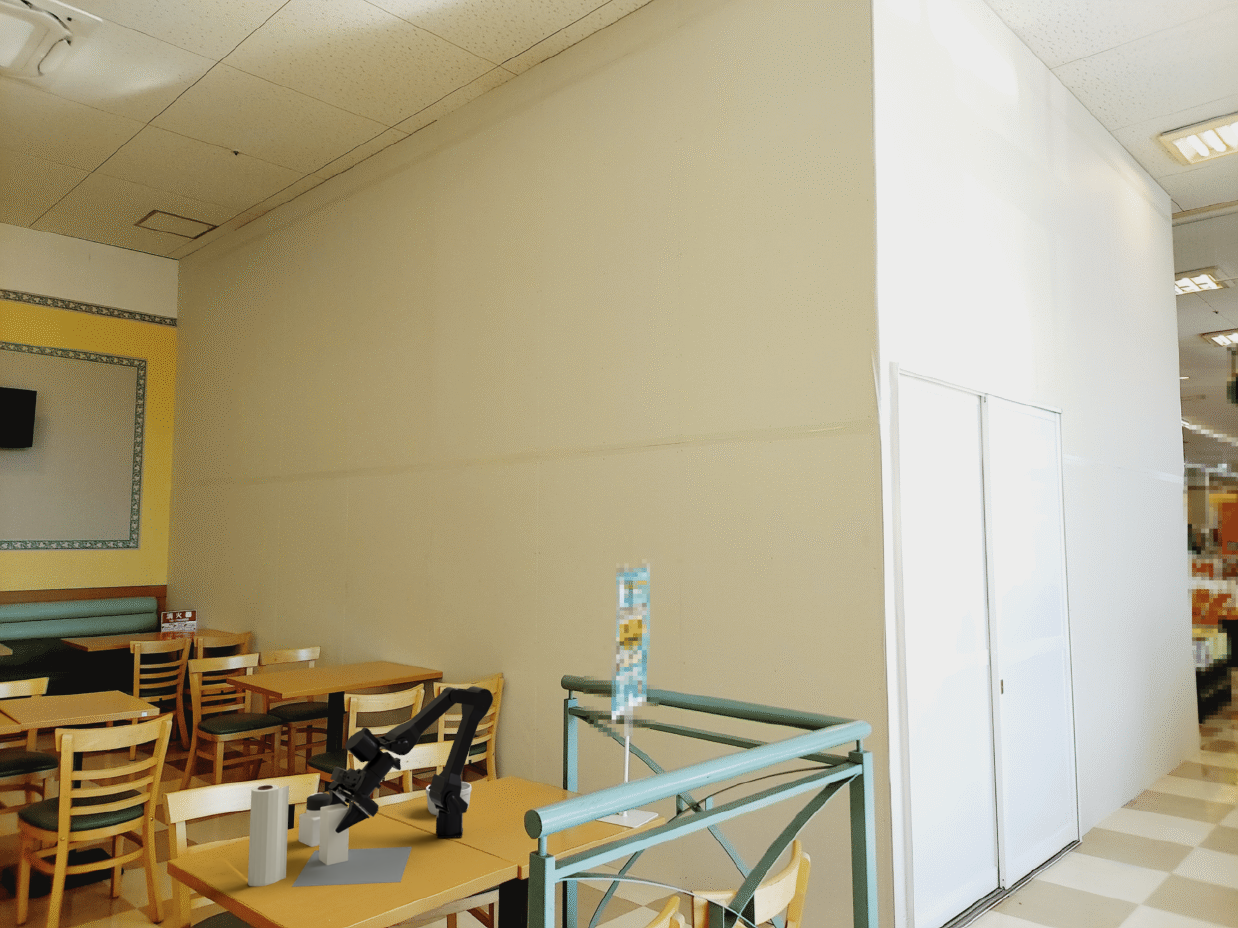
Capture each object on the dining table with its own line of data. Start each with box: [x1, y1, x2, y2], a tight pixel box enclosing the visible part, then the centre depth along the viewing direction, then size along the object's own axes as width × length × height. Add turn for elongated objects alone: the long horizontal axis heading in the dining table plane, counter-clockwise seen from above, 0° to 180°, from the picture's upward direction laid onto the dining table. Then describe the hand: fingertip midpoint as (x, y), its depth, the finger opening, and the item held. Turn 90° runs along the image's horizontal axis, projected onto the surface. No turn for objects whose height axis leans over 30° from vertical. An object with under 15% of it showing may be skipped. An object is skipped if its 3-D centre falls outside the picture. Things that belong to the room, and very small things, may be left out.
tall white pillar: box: [318, 804, 350, 865], centre depth 218 cm, size 5×5×12 cm
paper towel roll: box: [247, 784, 290, 887], centre depth 204 cm, size 7×6×21 cm
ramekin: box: [425, 781, 473, 816], centre depth 260 cm, size 13×13×7 cm
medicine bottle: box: [298, 792, 330, 848], centre depth 232 cm, size 7×7×12 cm
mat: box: [291, 846, 413, 888], centre depth 213 cm, size 24×24×1 cm
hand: (329, 827), depth 217 cm, fingers open, 9 cm apart
